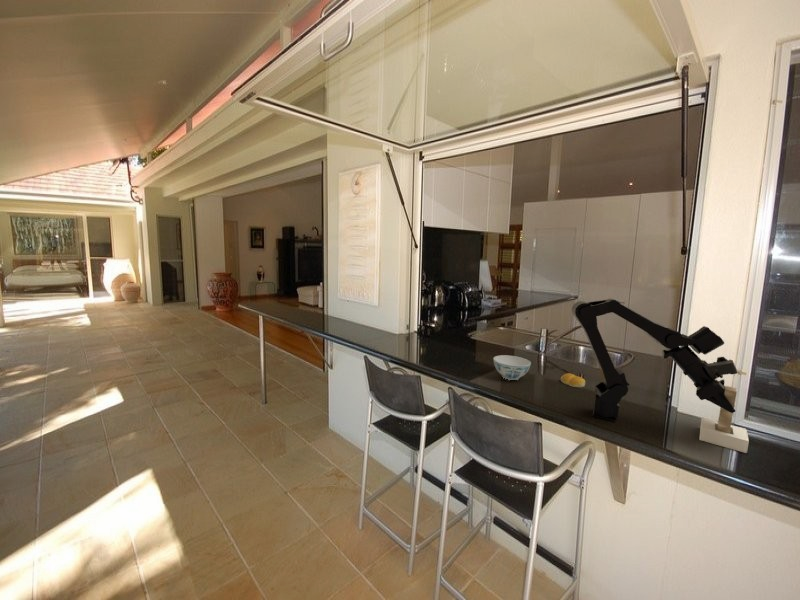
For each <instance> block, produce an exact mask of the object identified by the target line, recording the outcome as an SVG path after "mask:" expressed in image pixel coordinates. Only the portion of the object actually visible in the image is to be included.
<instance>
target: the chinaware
mask: <svg viewBox="0 0 800 600" xmlns="http://www.w3.org/2000/svg"><path fill="white" fill-rule="evenodd" d="M493 364H494V367H495V369H496V371H497V372H498V373H499V374H500V375H501V377H503V378H502V379H504V378H505V379H504V380H506V379H508V380H507V381H510V380H517V381H518V380H519V379H520V378H521V377H524V376H525V375H526V374H527V373H528V372H529V370H530V367H531V365H532V362H531V361H530V360H529V359H526V358H525V357H524V358H523V357H521V356H515V355H509V354H508V355H506V354H505V355H504V354H501V355H496V356H494V357H493Z"/></svg>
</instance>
